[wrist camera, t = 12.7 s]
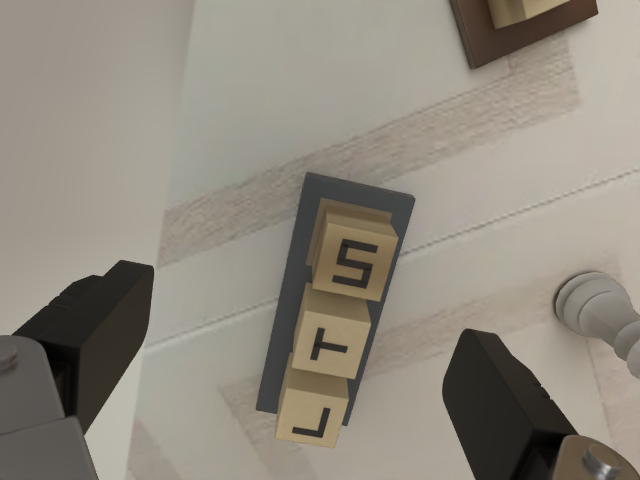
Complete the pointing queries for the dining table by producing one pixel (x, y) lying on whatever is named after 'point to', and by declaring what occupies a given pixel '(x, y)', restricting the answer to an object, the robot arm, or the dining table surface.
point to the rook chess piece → (602, 314)
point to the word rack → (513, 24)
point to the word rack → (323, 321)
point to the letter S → (353, 253)
